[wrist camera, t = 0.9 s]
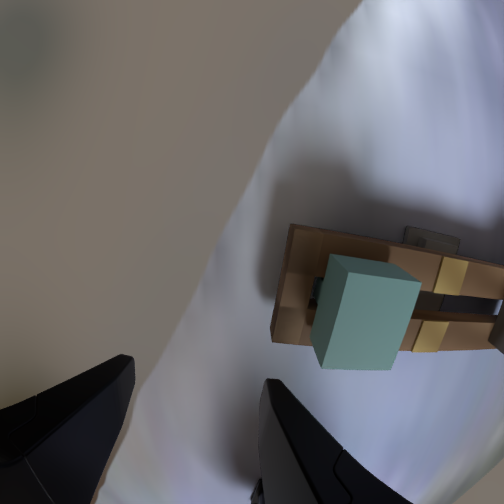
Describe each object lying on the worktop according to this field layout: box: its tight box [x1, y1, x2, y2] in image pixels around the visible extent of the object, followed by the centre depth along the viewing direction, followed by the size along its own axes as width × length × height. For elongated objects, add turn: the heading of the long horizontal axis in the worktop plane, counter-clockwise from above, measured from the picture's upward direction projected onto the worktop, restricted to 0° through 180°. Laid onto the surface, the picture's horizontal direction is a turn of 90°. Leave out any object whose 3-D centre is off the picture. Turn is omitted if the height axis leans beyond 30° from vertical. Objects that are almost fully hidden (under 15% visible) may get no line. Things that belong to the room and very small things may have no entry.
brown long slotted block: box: [270, 224, 504, 354], centre depth 18 cm, size 9×22×6 cm, turn 81°
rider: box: [310, 254, 422, 370], centre depth 16 cm, size 5×4×5 cm
